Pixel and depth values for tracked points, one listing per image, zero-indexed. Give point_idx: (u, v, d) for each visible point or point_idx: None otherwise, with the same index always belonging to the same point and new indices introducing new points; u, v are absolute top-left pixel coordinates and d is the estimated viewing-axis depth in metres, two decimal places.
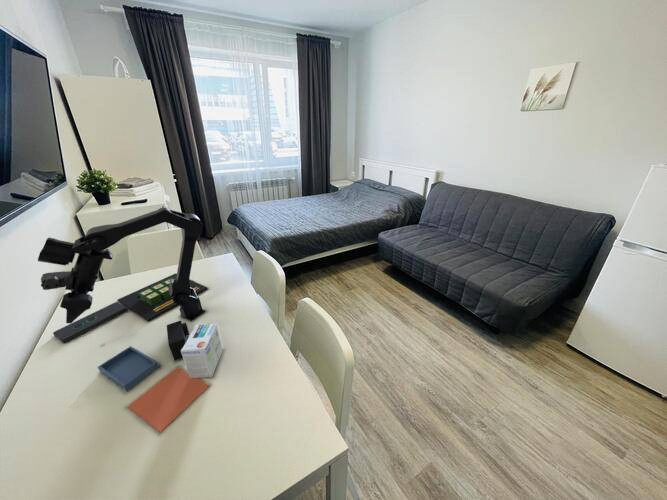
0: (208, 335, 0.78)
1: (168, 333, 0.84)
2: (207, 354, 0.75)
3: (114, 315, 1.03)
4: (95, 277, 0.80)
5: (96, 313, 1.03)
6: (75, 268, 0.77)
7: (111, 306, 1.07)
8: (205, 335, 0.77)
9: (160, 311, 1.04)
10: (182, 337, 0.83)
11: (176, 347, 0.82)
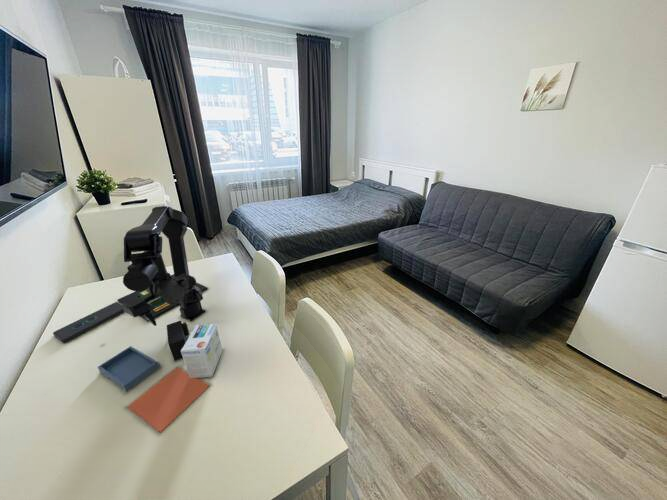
0: (208, 335, 0.78)
1: (168, 333, 0.84)
2: (207, 354, 0.75)
3: (114, 315, 1.03)
4: None
5: (96, 313, 1.03)
6: (164, 271, 0.76)
7: (111, 306, 1.07)
8: (205, 335, 0.77)
9: (160, 311, 1.04)
10: (182, 337, 0.83)
11: (176, 347, 0.82)
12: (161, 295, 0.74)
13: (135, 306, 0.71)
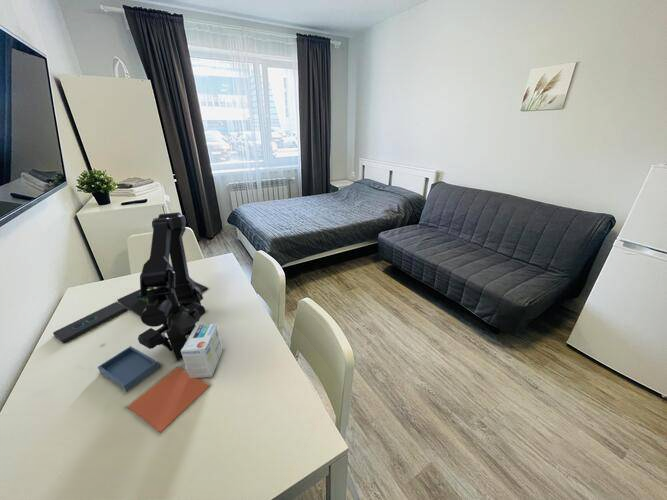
0: (208, 335, 0.78)
1: (168, 334, 0.84)
2: (207, 354, 0.75)
3: (114, 315, 1.03)
4: None
5: (96, 313, 1.03)
6: (176, 304, 0.81)
7: (111, 306, 1.07)
8: (205, 335, 0.77)
9: None
10: (184, 336, 0.83)
11: (179, 346, 0.82)
12: (174, 327, 0.79)
13: (151, 339, 0.76)
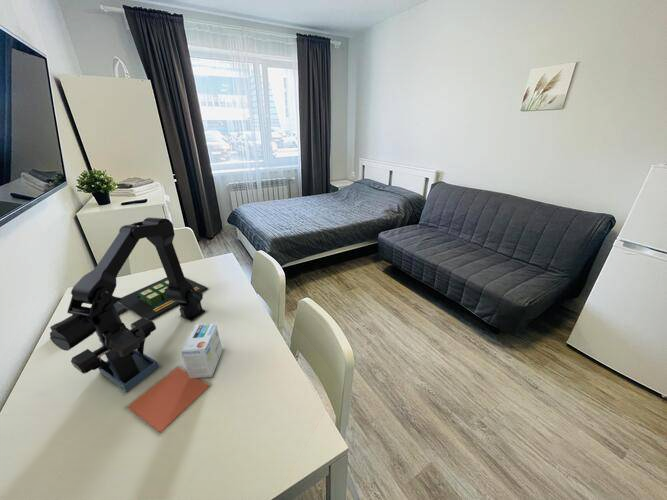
0: (208, 335, 0.78)
1: (109, 356, 0.76)
2: (207, 354, 0.75)
3: None
4: None
5: None
6: (117, 322, 0.73)
7: None
8: (205, 335, 0.77)
9: (160, 311, 1.04)
10: (129, 356, 0.76)
11: (124, 368, 0.74)
12: (113, 348, 0.71)
13: (84, 362, 0.68)
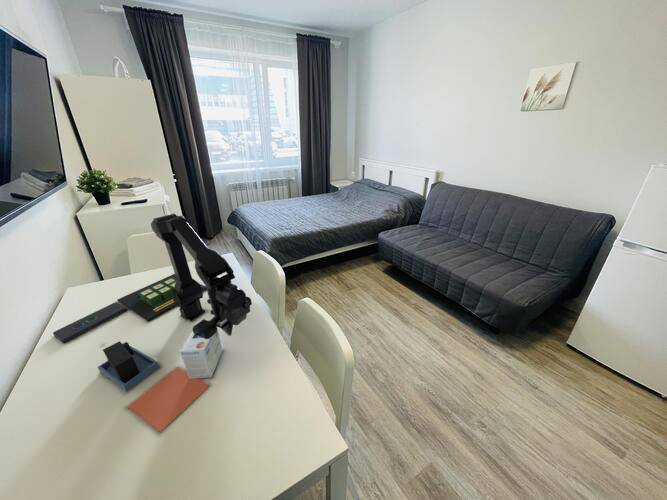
0: None
1: (109, 356, 0.76)
2: (207, 355, 0.74)
3: (114, 315, 1.03)
4: None
5: (96, 313, 1.03)
6: None
7: (111, 306, 1.07)
8: None
9: (160, 311, 1.04)
10: (129, 356, 0.76)
11: (124, 368, 0.74)
12: (228, 317, 0.79)
13: (207, 329, 0.76)
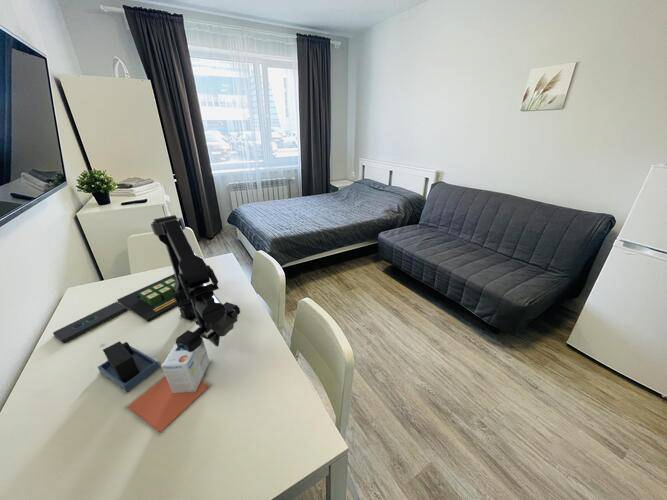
0: None
1: (109, 356, 0.76)
2: (190, 369, 0.70)
3: (114, 315, 1.03)
4: None
5: (96, 313, 1.03)
6: None
7: (111, 306, 1.07)
8: None
9: (160, 311, 1.04)
10: (129, 356, 0.76)
11: (124, 368, 0.74)
12: (213, 328, 0.75)
13: (190, 341, 0.72)
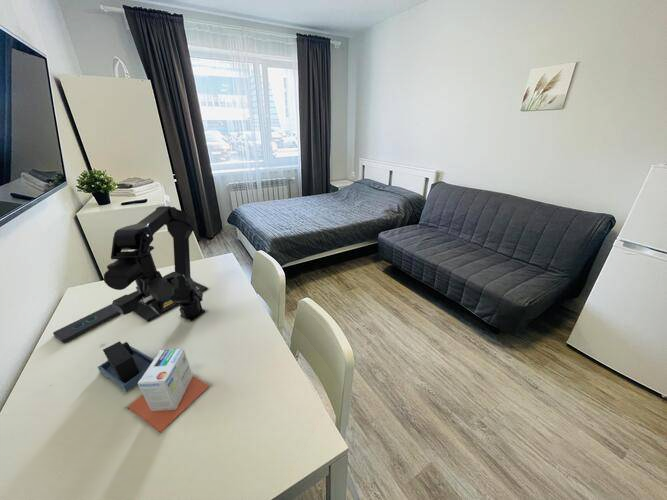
0: (172, 363, 0.68)
1: (109, 356, 0.75)
2: (169, 386, 0.66)
3: (114, 315, 1.03)
4: None
5: (96, 313, 1.03)
6: (153, 270, 0.77)
7: (111, 306, 1.07)
8: (168, 363, 0.68)
9: None
10: (129, 356, 0.76)
11: (124, 368, 0.74)
12: (151, 293, 0.75)
13: (125, 304, 0.72)
